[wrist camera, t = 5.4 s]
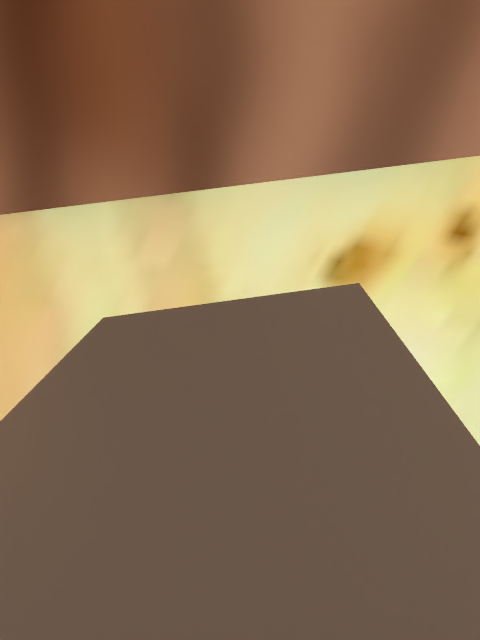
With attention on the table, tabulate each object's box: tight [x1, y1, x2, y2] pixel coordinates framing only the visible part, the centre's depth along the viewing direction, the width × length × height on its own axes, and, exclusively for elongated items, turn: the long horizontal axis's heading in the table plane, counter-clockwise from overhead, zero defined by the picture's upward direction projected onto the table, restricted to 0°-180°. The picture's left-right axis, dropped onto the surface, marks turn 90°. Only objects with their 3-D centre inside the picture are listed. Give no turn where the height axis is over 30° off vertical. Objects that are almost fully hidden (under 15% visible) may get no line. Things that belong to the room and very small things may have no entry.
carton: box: [0, 283, 480, 640], centre depth 6 cm, size 5×7×8 cm
